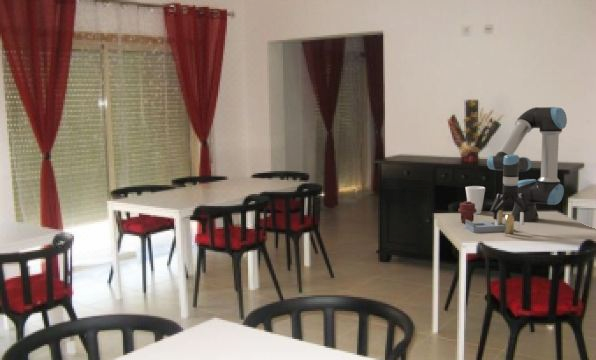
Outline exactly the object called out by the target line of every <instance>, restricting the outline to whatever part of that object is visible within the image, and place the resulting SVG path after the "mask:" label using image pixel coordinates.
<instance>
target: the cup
mask: <svg viewBox="0 0 596 360" xmlns="http://www.w3.org/2000/svg"><path fill="white" fill-rule="evenodd" d="M485 192H486V187H484V186H480V185H472V186H471V185H469V186H465V193H466V194H465V195H466V201H470V202H471V203H474V204H475V209H476V213H474V215H480V214H481V213H482V210H483V205H484V204H483V203H484V199H485Z"/></svg>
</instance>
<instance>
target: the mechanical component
mask: <svg viewBox="0 0 596 360" xmlns="http://www.w3.org/2000/svg"><path fill="white" fill-rule="evenodd" d="M457 210H458V211H457V212H459V213H460V221H461V223H462V224H465V220H466V219H467V220H469V221H471V222H473V221H474V218H475V217H474V215H475V214H474V213H476V209H475V204H474V203H471V202H470V201H467V200H466V201H463V202H460V203H459V208H458V209H457Z"/></svg>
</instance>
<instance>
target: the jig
mask: <svg viewBox="0 0 596 360" xmlns="http://www.w3.org/2000/svg"><path fill="white" fill-rule="evenodd" d="M497 213H499V222H498V226H496V225H495V219H494V218H493V221H479V222H476V221H475V222H473V221H472V222H471V221H469V220H467V219H466V220H465V223H464V224H465V227H464V228H465V229H466V230H468V231H469V232H472V233H475V234H478V233H498V232H500V233H501V231H502V232H505V220H503V210H501V209H500V210H499V211H498V212H497Z"/></svg>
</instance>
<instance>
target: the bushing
mask: <svg viewBox="0 0 596 360" xmlns="http://www.w3.org/2000/svg"><path fill="white" fill-rule="evenodd" d="M504 218H505V219H504V221H505V231H504V234H505V235H507V234H513V235H514V234H515V220H514V215H512V214H510V213H508V214H507V213H505V215H504Z"/></svg>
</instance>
